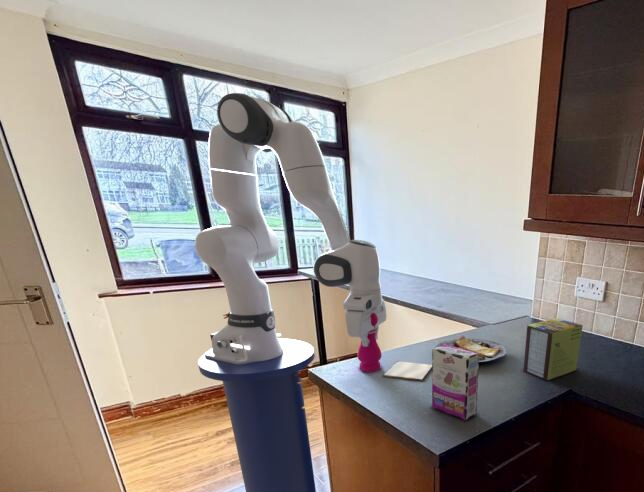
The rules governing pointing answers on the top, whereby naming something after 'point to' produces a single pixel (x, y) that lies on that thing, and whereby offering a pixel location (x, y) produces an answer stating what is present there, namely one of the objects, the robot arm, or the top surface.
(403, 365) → the coaster mat
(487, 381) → the top surface
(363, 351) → the pepper mill
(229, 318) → the robot arm
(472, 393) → the candy bar box
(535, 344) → the protein box
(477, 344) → the food plate
